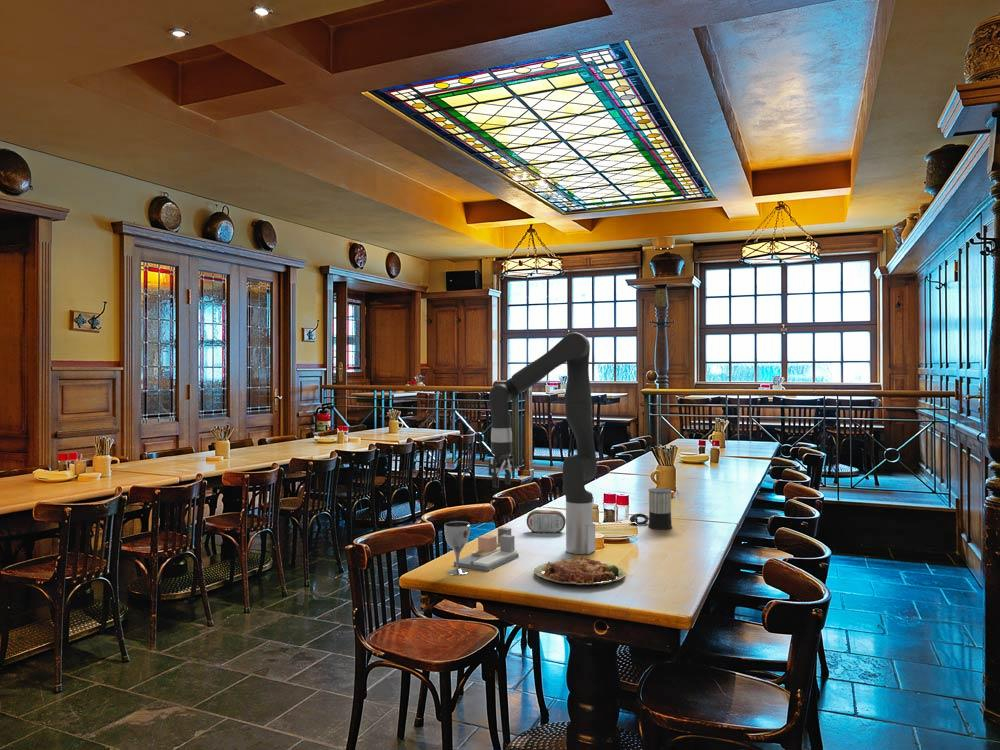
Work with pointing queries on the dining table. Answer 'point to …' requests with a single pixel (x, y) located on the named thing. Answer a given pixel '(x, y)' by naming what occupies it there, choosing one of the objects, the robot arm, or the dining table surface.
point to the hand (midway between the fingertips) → (501, 485)
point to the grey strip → (499, 552)
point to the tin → (545, 521)
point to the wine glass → (457, 541)
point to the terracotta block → (487, 543)
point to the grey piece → (500, 532)
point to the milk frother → (657, 509)
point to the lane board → (469, 559)
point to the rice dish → (579, 571)
